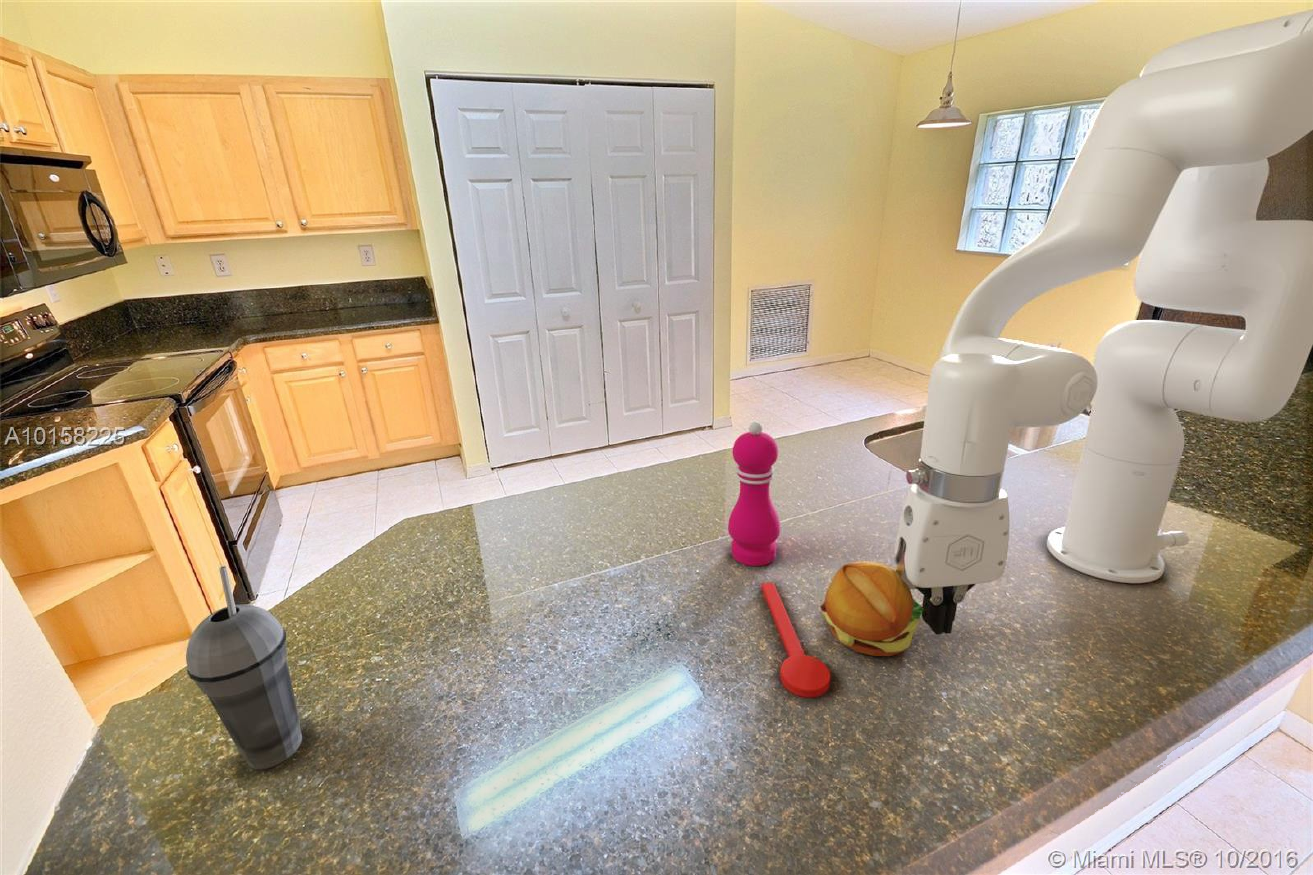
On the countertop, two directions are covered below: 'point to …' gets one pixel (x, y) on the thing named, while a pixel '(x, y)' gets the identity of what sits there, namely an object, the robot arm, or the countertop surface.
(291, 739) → the beverage cup
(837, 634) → the cheeseburger
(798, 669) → the spoon
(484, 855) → the countertop surface
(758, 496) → the pepper mill
